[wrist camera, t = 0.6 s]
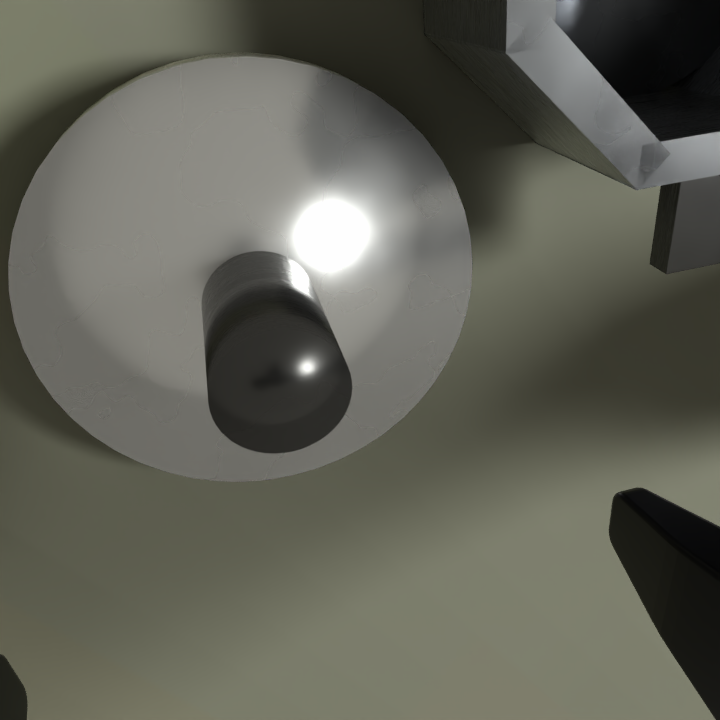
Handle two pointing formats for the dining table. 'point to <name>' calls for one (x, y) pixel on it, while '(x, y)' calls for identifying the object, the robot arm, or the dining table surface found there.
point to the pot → (608, 96)
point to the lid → (239, 267)
